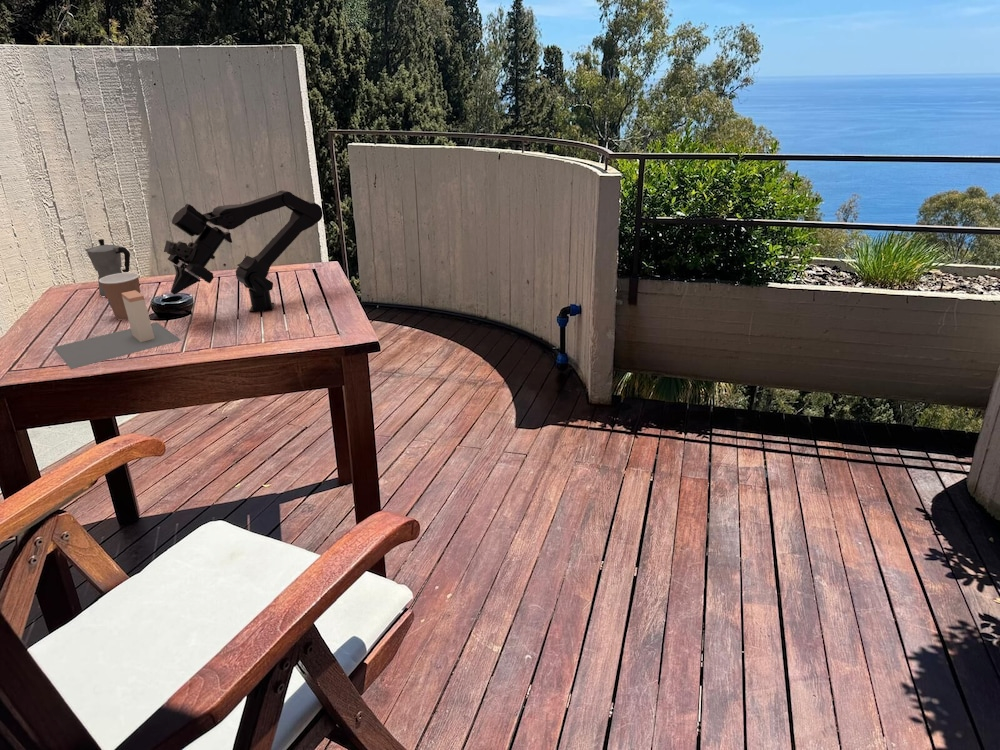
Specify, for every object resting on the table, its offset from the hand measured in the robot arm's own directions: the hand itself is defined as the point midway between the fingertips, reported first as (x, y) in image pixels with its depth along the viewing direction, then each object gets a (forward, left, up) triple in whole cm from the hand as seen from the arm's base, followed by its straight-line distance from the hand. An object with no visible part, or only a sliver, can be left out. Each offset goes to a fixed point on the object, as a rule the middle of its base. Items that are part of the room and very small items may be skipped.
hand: (172, 293), depth 182 cm
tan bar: (+5, -8, -10) cm, 14 cm away
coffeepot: (-42, -27, -11) cm, 51 cm away
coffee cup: (-16, -17, -11) cm, 26 cm away
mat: (+8, -14, -10) cm, 19 cm away
